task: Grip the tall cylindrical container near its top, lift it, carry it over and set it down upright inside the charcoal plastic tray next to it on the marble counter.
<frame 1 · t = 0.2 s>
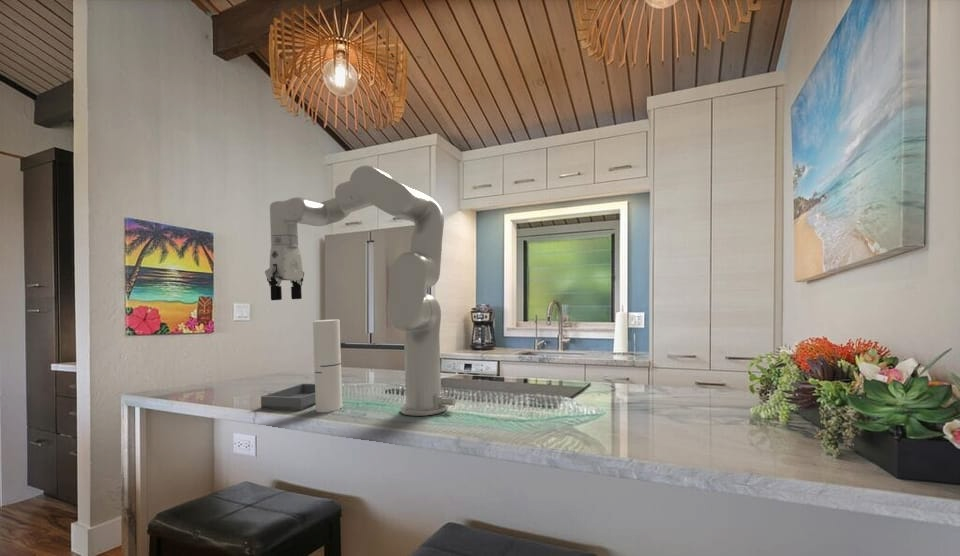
hand: (286, 299, 138), 31 cm above the countertop, fingers open, 9 cm apart
cylindrical container: (329, 409, 129), on the countertop
charcoal tray: (302, 401, 139), on the countertop
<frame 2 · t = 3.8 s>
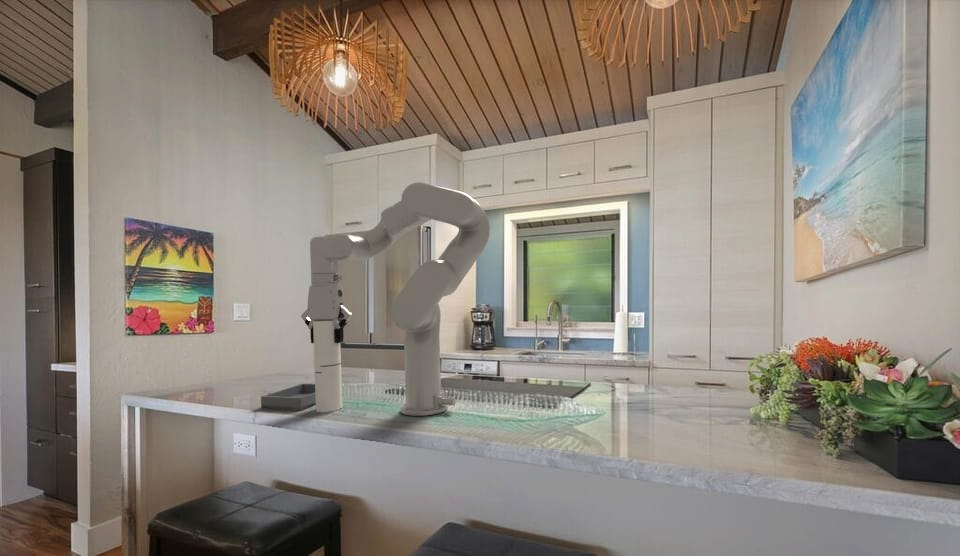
hand: (327, 342, 130), 19 cm above the countertop, fingers closed on cylindrical container, 7 cm apart
cylindrical container: (329, 409, 129), on the countertop, touching gripper
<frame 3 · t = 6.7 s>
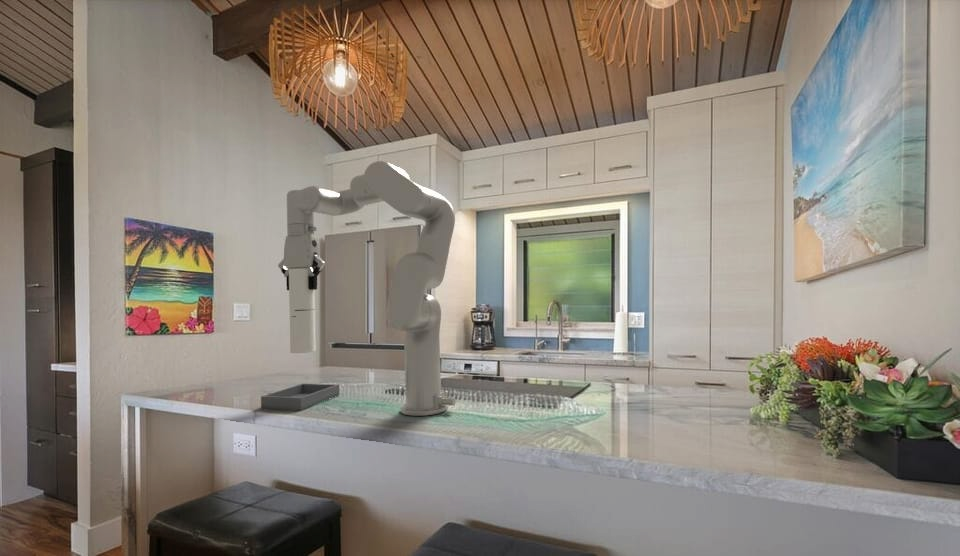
hand: (301, 289, 139), 34 cm above the countertop, fingers closed on cylindrical container, 7 cm apart
cylindrical container: (303, 352, 138), point 15 cm above the countertop, touching gripper
when the fingers open (21 cm above the countertop, at t = 9.8 s): cylindrical container drops 1 cm, resting on charcoal tray.
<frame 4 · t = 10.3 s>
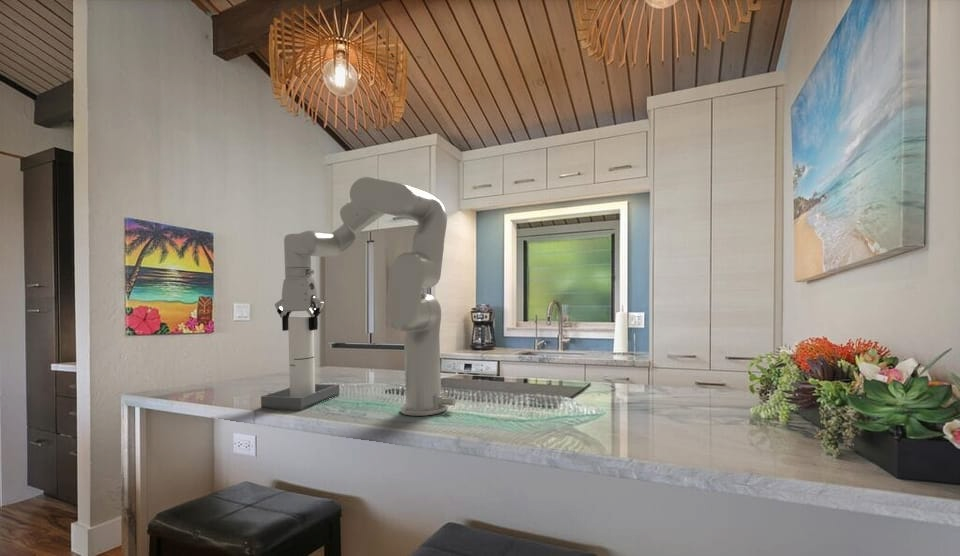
hand: (300, 330, 140), 22 cm above the countertop, fingers open, 9 cm apart
cylindrical container: (302, 399, 139), point 1 cm above the countertop, touching charcoal tray
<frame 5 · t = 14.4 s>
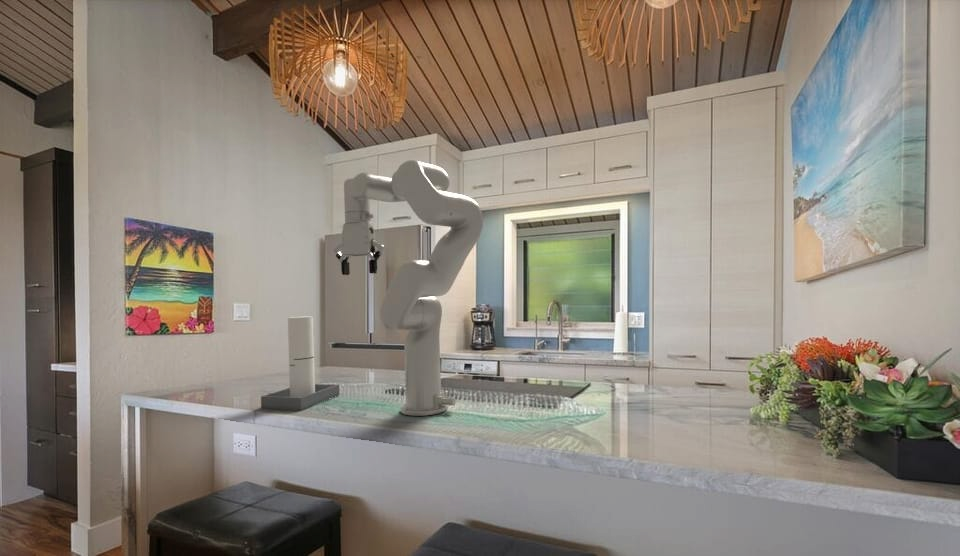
hand: (359, 274, 142), 38 cm above the countertop, fingers open, 9 cm apart
nothing on the countertop moved.
at the end: cylindrical container inside the target area on the charcoal tray (0.2 cm from its centre), point 0.6 cm above the charcoal tray's base; cylindrical container tilted 0°; the gripper is holding nothing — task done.
